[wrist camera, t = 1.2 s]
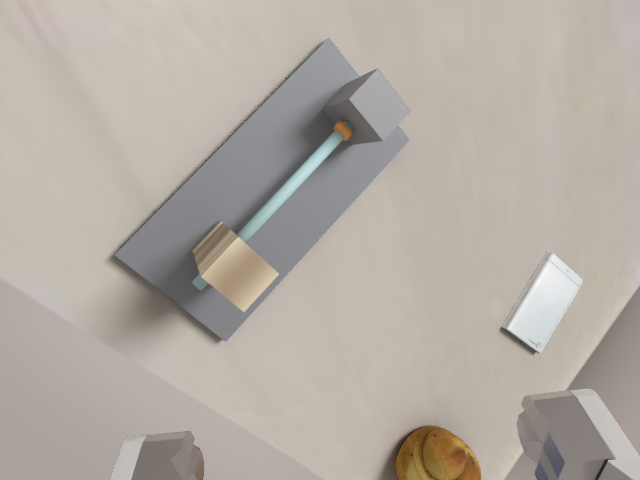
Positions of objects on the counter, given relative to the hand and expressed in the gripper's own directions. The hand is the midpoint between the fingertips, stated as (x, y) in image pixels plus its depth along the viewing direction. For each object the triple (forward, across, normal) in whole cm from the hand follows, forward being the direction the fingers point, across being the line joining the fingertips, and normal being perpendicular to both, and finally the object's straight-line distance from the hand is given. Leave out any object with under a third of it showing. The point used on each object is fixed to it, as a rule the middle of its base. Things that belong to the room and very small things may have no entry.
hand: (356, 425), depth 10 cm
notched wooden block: (+29, +11, +14) cm, 34 cm away
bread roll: (+25, -9, +49) cm, 56 cm away
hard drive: (+38, -28, +36) cm, 59 cm away
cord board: (+34, +6, +11) cm, 36 cm away
